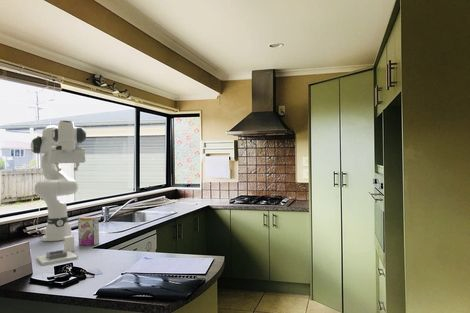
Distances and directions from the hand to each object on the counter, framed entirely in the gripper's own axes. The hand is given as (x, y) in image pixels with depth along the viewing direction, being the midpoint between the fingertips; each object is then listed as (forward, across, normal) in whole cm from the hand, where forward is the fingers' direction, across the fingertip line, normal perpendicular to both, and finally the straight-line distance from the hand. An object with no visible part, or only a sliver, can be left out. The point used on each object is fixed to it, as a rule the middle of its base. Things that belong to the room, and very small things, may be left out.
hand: (67, 171), depth 206 cm
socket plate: (+45, +15, +19) cm, 51 cm away
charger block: (+45, +4, +7) cm, 46 cm away
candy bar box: (+45, -10, +2) cm, 46 cm away
